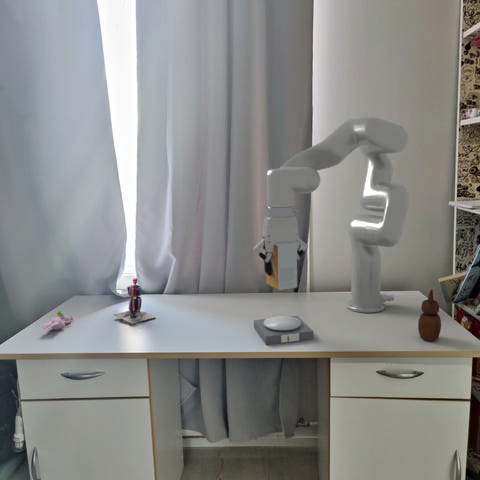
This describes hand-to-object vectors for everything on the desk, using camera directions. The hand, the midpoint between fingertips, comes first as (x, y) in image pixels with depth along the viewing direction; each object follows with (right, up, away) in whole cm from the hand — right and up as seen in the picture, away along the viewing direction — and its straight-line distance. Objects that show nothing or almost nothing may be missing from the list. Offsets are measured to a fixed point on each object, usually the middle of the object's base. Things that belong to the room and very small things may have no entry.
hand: (281, 273), depth 143 cm
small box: (0, -4, +1) cm, 4 cm away
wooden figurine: (+41, -18, -4) cm, 45 cm away
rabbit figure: (-70, -19, +14) cm, 73 cm away
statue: (-47, -17, +21) cm, 54 cm away
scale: (+1, -18, +3) cm, 18 cm away
